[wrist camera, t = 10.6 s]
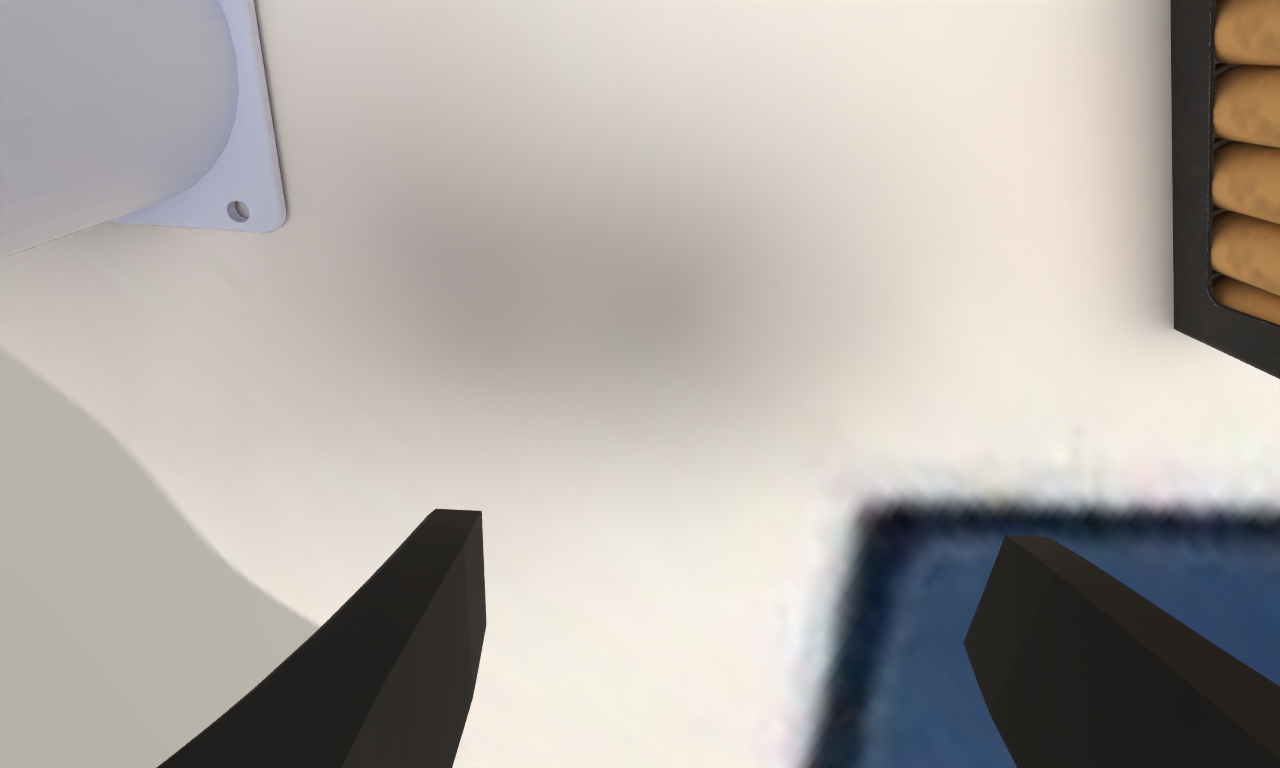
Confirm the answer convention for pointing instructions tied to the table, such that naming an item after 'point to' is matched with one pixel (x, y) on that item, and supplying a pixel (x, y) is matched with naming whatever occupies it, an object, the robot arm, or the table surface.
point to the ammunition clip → (1227, 176)
